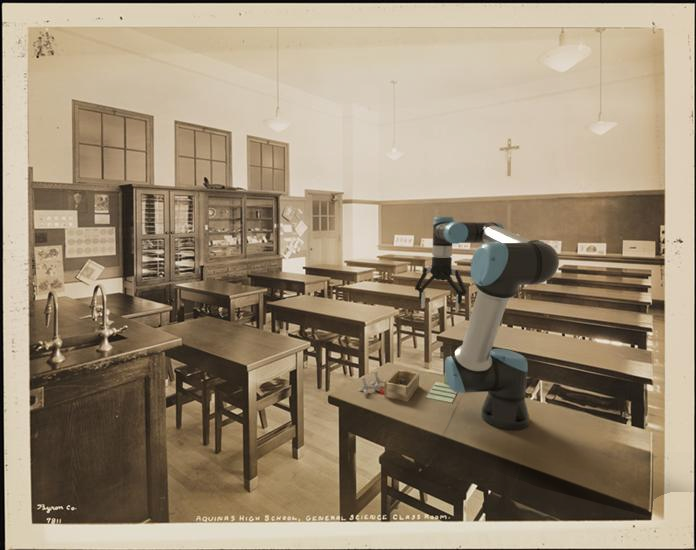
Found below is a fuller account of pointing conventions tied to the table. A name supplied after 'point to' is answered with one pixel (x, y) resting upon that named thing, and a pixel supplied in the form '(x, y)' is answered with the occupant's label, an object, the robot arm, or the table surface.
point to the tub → (400, 391)
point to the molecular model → (376, 382)
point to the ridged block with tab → (442, 392)
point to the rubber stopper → (403, 381)
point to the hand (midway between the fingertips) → (439, 309)
